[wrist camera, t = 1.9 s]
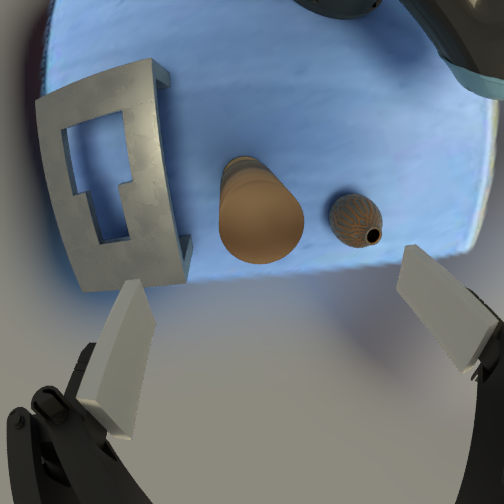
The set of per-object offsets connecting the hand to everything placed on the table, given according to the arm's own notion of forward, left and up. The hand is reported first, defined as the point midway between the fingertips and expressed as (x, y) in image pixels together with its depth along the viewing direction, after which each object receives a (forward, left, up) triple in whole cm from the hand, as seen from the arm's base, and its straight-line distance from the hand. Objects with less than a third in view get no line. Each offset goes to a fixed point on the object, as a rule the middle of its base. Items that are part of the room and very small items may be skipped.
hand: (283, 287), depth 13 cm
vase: (+6, +14, -24) cm, 29 cm away
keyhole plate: (-3, -15, -24) cm, 29 cm away
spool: (0, 0, -24) cm, 24 cm away
